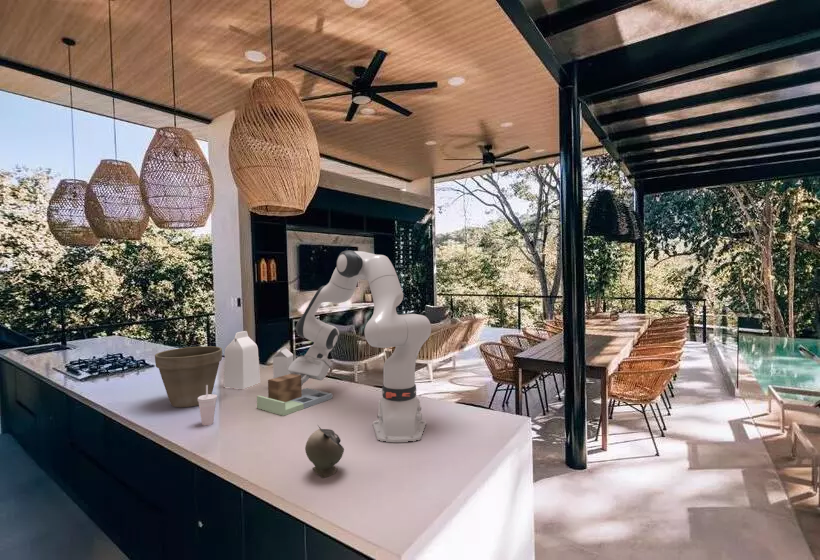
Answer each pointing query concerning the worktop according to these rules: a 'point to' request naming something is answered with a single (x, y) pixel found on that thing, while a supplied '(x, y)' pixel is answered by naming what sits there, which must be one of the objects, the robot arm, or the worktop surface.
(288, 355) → the milk carton
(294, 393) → the walnut block
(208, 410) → the smoothie
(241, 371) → the milk
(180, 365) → the plant pot
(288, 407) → the trap deck
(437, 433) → the worktop surface
